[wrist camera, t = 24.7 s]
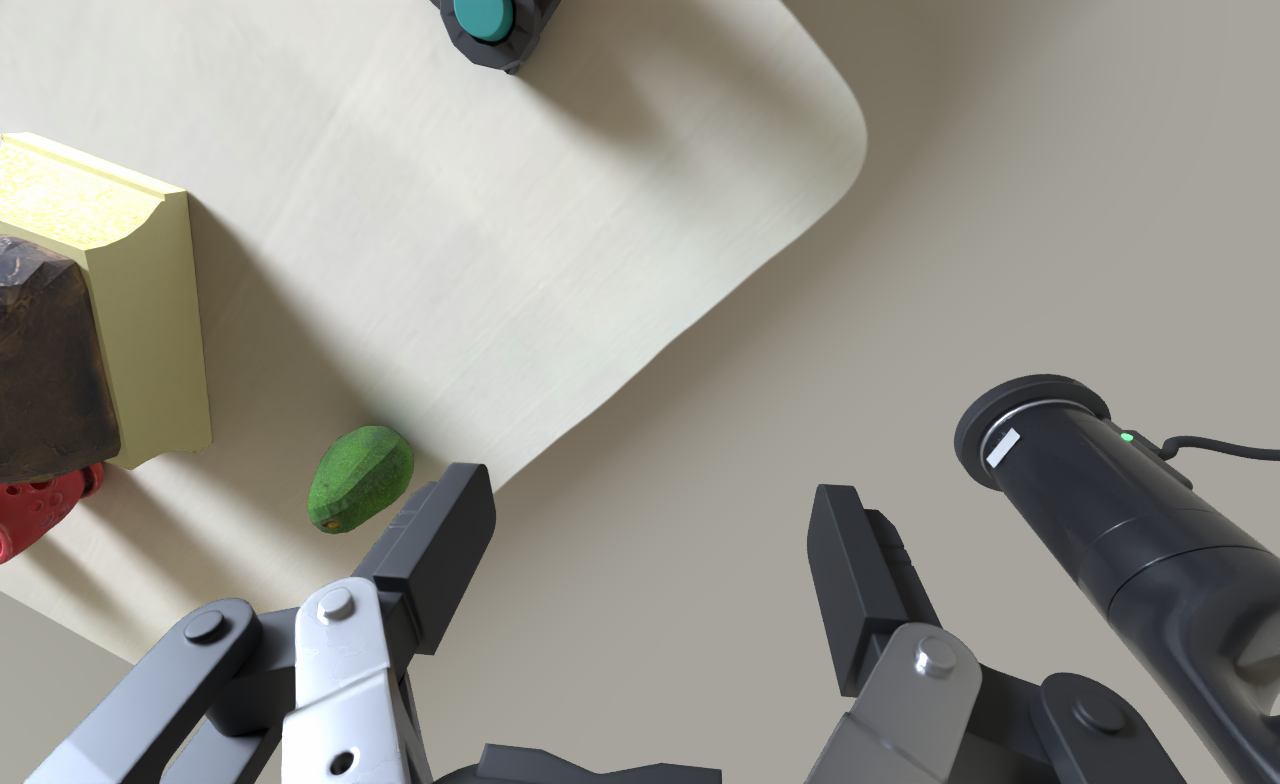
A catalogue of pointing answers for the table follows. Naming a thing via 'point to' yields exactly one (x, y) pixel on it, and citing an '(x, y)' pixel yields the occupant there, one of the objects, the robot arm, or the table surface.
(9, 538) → the flower pot
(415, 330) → the table surface
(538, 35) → the scale
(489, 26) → the button
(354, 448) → the avocado
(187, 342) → the decorative statue
